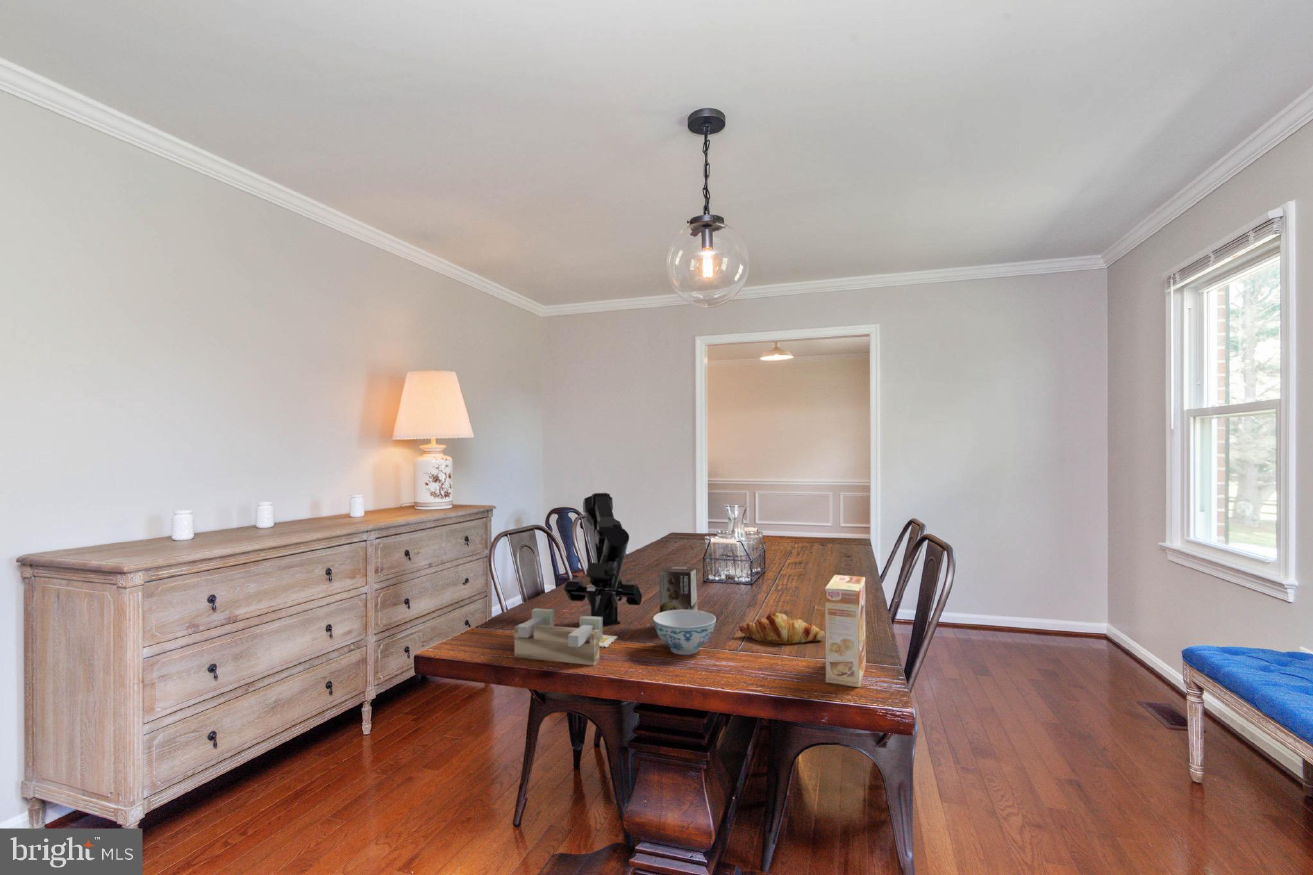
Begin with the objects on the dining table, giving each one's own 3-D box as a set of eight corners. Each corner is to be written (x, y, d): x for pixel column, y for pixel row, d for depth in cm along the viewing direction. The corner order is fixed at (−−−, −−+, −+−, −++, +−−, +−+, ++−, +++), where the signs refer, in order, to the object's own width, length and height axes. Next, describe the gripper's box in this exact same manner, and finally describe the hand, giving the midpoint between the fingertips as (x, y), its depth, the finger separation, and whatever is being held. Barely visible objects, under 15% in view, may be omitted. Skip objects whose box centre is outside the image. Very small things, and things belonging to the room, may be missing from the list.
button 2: (583, 636, 147) (582, 615, 147) (602, 638, 146) (602, 616, 146) (562, 651, 136) (562, 628, 137) (583, 653, 135) (583, 630, 135)
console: (521, 652, 148) (520, 623, 148) (599, 660, 142) (599, 629, 142) (514, 657, 145) (514, 626, 145) (594, 665, 139) (594, 633, 139)
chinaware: (676, 665, 139) (675, 630, 139) (641, 647, 151) (641, 615, 152) (729, 653, 147) (728, 620, 147) (692, 636, 159) (691, 606, 160)
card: (574, 634, 162) (574, 631, 162) (617, 637, 159) (617, 635, 159) (560, 643, 155) (560, 641, 155) (605, 647, 151) (605, 645, 151)
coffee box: (698, 627, 168) (698, 567, 168) (692, 634, 162) (691, 571, 162) (666, 624, 171) (665, 565, 171) (658, 631, 164) (658, 569, 165)
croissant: (823, 651, 158) (821, 619, 162) (827, 643, 149) (826, 610, 153) (739, 646, 161) (739, 615, 165) (738, 638, 152) (739, 605, 156)
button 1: (535, 628, 154) (535, 608, 154) (554, 630, 152) (553, 609, 153) (512, 642, 143) (512, 620, 143) (532, 643, 142) (532, 621, 142)
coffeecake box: (860, 688, 125) (859, 590, 125) (824, 682, 128) (823, 587, 128) (867, 663, 139) (866, 576, 139) (834, 659, 142) (833, 573, 142)
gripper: (566, 547, 155) (546, 602, 144) (637, 550, 149) (622, 608, 138) (579, 573, 162) (561, 627, 151) (647, 576, 157) (634, 633, 146)
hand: (593, 623), depth 146 cm, fingers closed, pressing on button 2
